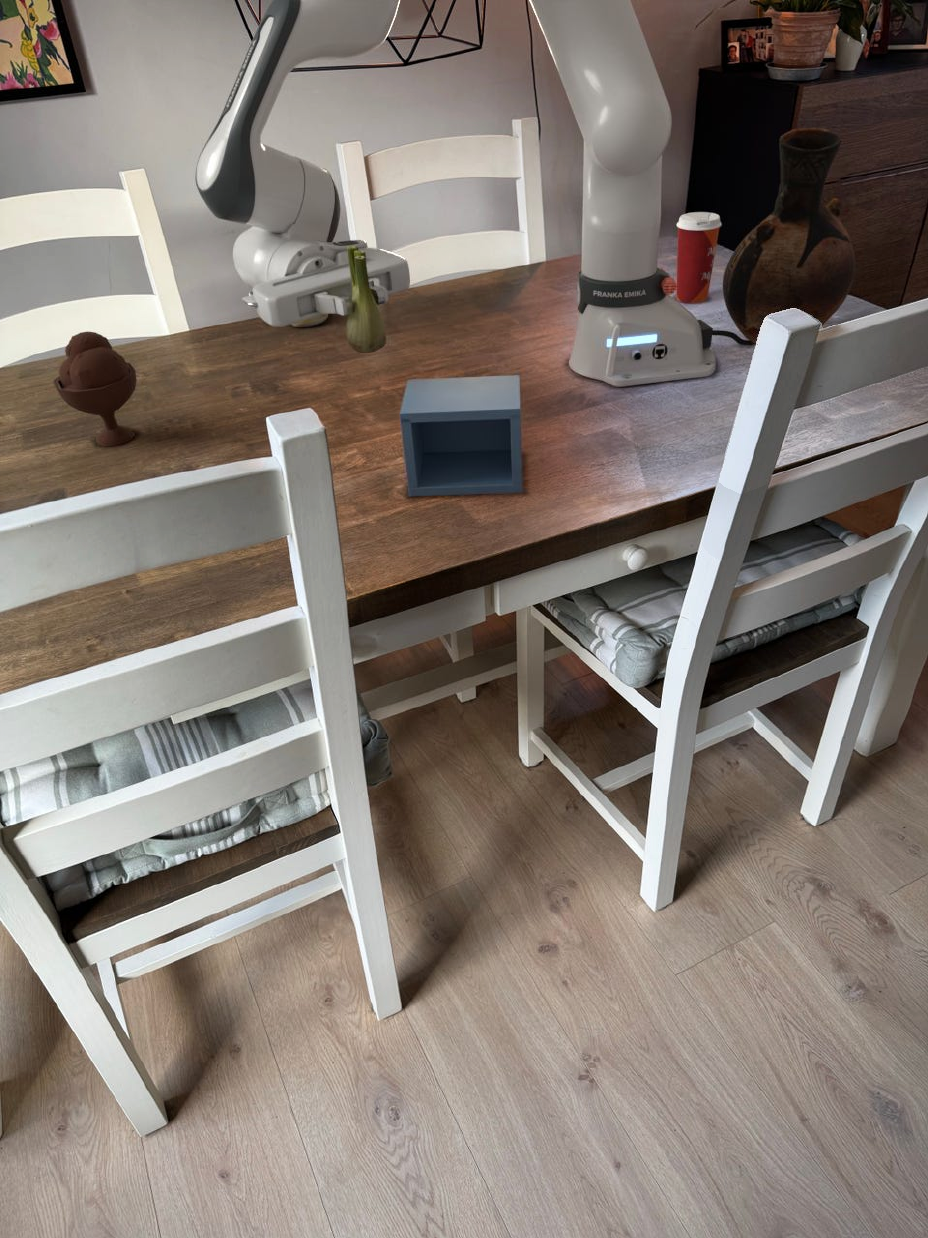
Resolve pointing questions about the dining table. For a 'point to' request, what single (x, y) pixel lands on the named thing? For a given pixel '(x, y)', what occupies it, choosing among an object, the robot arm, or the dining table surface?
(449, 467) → the box
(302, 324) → the bread roll
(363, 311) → the fennel bulb
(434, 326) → the dining table surface
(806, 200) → the ceramic vessel
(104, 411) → the ice cream bowl
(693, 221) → the paper cup
